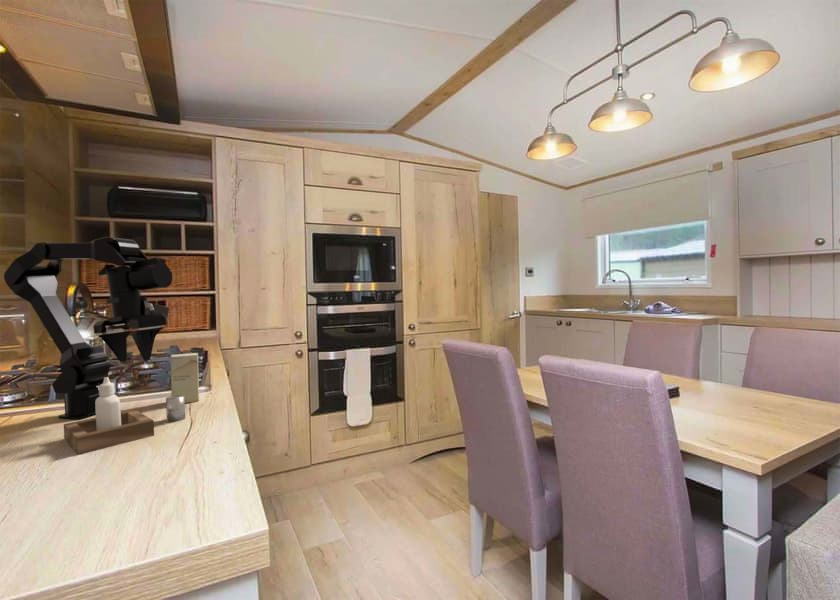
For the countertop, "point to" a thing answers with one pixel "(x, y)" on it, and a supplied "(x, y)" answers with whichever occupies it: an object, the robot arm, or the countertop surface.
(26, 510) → the countertop surface
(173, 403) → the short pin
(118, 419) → the eye dropper bottle
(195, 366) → the skincare box
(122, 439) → the socket block
